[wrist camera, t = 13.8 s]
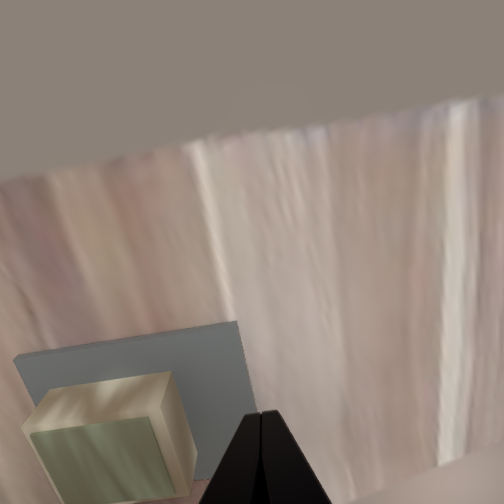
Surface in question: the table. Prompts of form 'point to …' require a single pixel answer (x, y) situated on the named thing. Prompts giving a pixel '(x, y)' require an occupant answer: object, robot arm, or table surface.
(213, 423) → the slate mat
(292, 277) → the table surface
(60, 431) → the beech board
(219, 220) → the table surface
